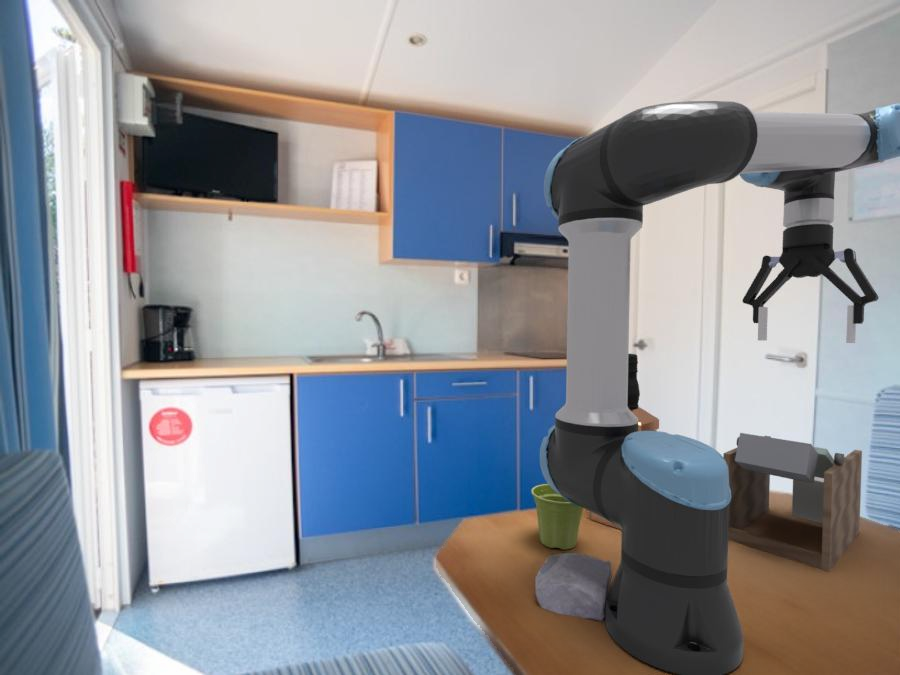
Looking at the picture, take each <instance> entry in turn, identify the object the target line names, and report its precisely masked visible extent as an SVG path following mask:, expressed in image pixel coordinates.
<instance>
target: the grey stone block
mask: <svg viewBox="0 0 900 675" xmlns="http://www.w3.org/2000/svg"><path fill="white" fill-rule="evenodd" d="M791 498H792V499H791V500H792V503H791V504H792V505H791V506H792V508H791V509H792V510H791V516H792V517H795V518H800V519H804V520H808V521H811V522H815V523H818V524H821V525H823V498H824V478H819V477H815V478H814V484H812V483H808V482H803V481H798V480H793V479H792V497H791Z"/></svg>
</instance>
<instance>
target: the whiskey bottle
mask: <svg viewBox="0 0 900 675" xmlns="http://www.w3.org/2000/svg"><path fill="white" fill-rule="evenodd" d="M638 364H639V361H638V354H636V353H628V402H627V406H628V408H629V410H630V411H631V412H632V413H633V414H634V415H635V416H636V417H637V418H638V431H658V430H659V429H660V419H659V418H658V417H656V416H654V415H653V414H651V413H650V412H648V411H647V410H645V409H643V408H642V407H640V405H639V402H640V401H639V400H640V394H641V391H640V385H639V382H638V372H639V371H638ZM588 518H590V520H591V521H594V522H597V523H600V524H602V525H606V526H609V527H612V528H615V529H618V530H620V531H622V529H621V527H619V526H617V525H616V524H614V523H612V522H610V521H608V520H606V519H604V518H602V517H600V516H598V515H596V514H594V513H592V512H590V511H589V517H588Z"/></svg>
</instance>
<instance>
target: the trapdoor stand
mask: <svg viewBox="0 0 900 675" xmlns="http://www.w3.org/2000/svg"><path fill="white" fill-rule="evenodd" d="M739 437H740V436H738V437H737V438H736V447H735V448H733V449H730V450H728V451H726V452H724V453H723V454H722V456H723V458H724V459H725V461H726V464H727V466H728V470H729V486H730V490H731V501H730V503H729V530H728V541H731V542H735V543H738V544H741V545H745V546H747V547H752V548H754V549H757V550H761V551H763V552H767V553H770V554H773V555H776V556H780V557H783V558H787V559H790V560H792V561H796V562H799V563H802V564H806V565H807V566H808V565H809V566H812V567H815V568H818V569H822V570H825V571H828V572H831V570H832V569H833V567H834V566H835V565H836V563H837V562H838V561H839V559H840V558H842V557H841V556H842V555H843V554H844V553H845V551H847V549H848V548H849V546H850V545H851V544H852V543H853V541H854V540H855V539H856V538H857V536H858V535H859V533H860V528H861V527H860V524H861V522H860V521H861V497H862V496H861V494H862V492H861V490H862V488H861V487H862V464H863V461H862V459H863V450H861V449H860V450H859V449H854V450H852V451H851V452H849V453H848V454H847V455H845V454H844V453H839V452H835V453H834V456H833V459H834V463H835V465H834V466H832V467H831V468H830V469H828V470H827V471H826V472H824V498H823V524H822V536H821V539H822V540H821V552H819V551H815V550H811V549H808V548H804V547H801V546H798V545H794V544H790V543H787V542H784V541H780V540H778V539H777V540H776V539H774V538H770V537H766V536H764V535H760V534H757V533H753V532H751V531H747V530H744V528H745V527H747V526H748V525H750V524H751V523H753V522H754V521H755V520H756V519H757V518H759V517H761V516H762V515H763V514H764V513H765V514H766V512H767V511H769V510H770V488H771V486H770V484H771V482H770V481H771V480H770V479H771V478H770V477H771V475H769V474H764V473H760V472H755V471H750V470H745V469H743V468H742V467H741V466H740V465H739V464H738V463H736V462H735V457H736V452H737V447H738V442H739ZM764 437H770V438H772V437H771V436H769V435H764Z"/></svg>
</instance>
